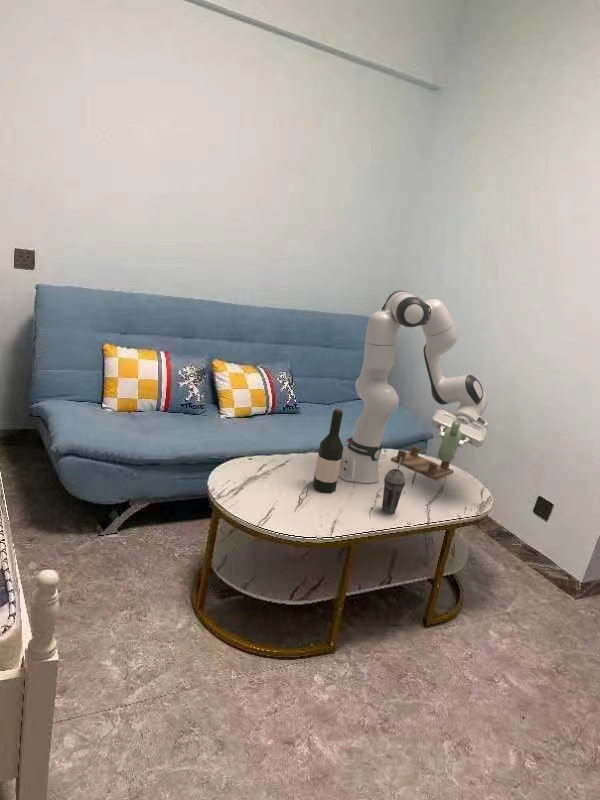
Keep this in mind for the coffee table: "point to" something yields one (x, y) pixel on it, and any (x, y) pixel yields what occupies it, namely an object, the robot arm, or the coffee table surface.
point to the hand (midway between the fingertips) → (450, 441)
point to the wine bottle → (329, 457)
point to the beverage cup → (392, 490)
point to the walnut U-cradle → (422, 464)
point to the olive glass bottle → (450, 442)
